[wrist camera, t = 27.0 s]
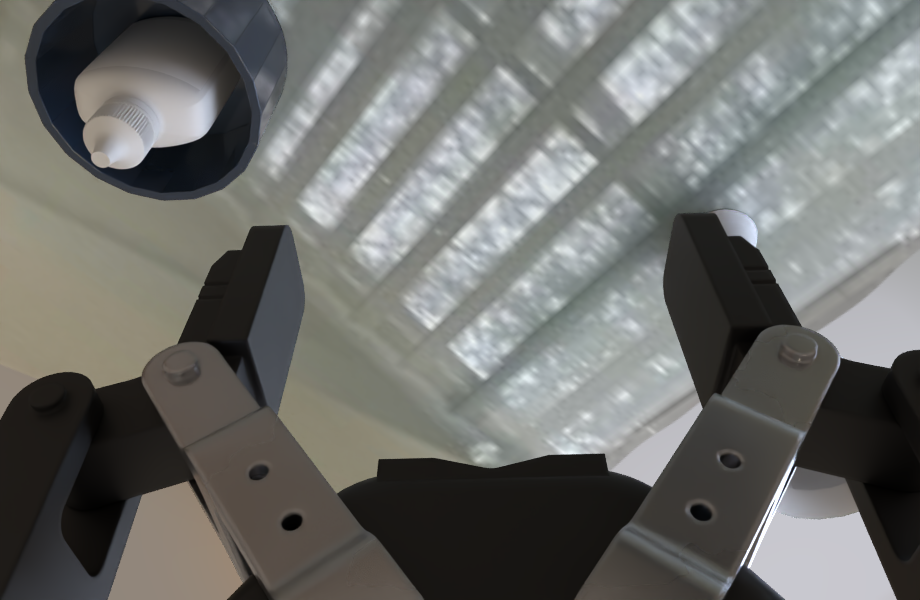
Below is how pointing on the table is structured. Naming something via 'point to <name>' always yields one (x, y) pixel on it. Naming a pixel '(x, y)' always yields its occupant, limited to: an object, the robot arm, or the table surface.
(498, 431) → the table surface
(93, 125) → the eye dropper bottle
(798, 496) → the chalice
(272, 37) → the dark blue round container
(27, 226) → the table surface
